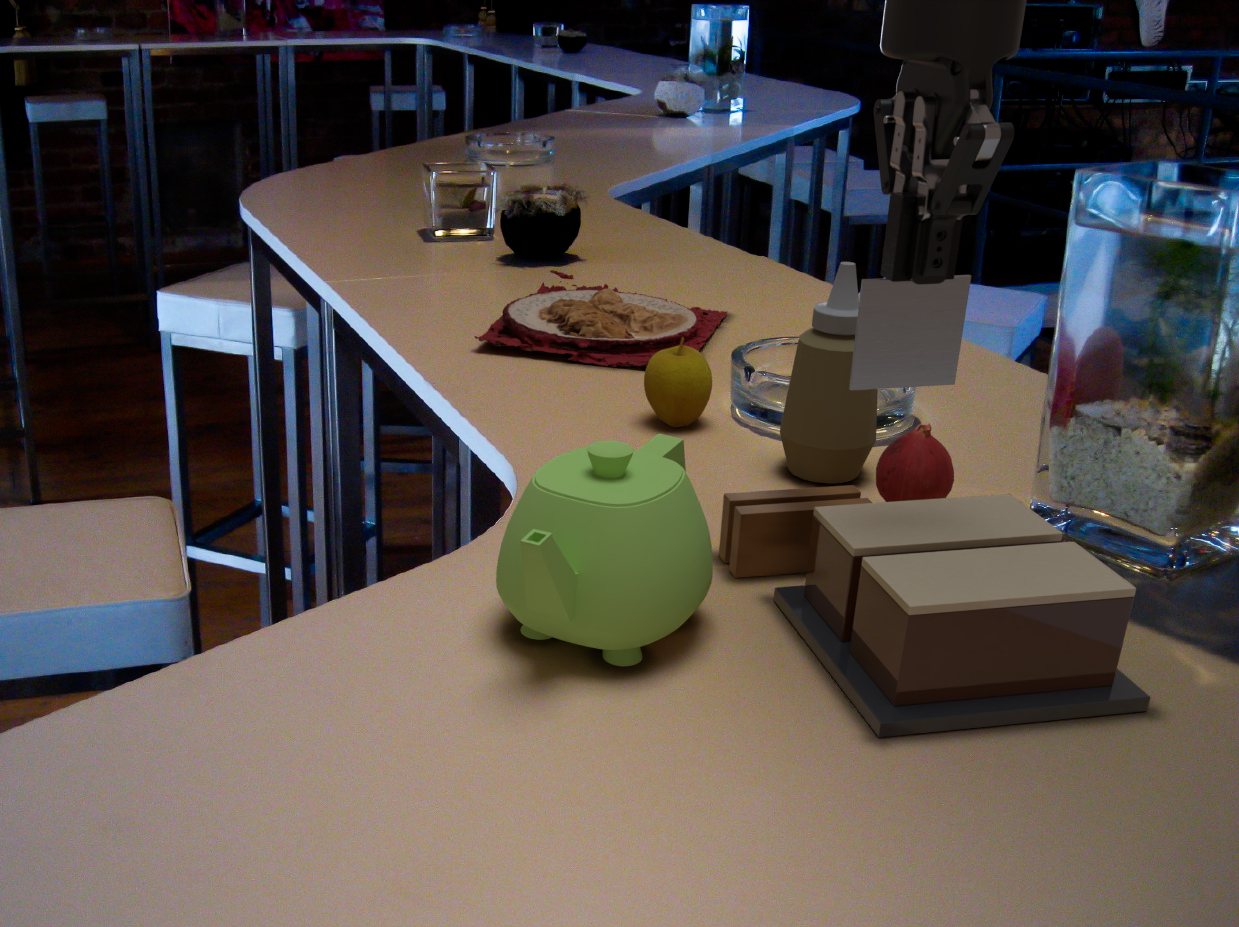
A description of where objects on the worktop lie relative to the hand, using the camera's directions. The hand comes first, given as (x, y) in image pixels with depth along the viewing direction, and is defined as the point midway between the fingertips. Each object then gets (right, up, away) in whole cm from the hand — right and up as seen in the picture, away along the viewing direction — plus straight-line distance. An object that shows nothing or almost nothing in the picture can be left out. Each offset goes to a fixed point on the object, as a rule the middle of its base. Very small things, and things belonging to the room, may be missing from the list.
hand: (917, 276), depth 77 cm
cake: (+3, -23, +4) cm, 24 cm away
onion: (+6, -15, +23) cm, 28 cm away
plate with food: (-14, +8, +70) cm, 72 cm away
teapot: (-19, -22, +7) cm, 30 cm away
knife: (0, -6, +3) cm, 7 cm away
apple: (-10, -5, +42) cm, 44 cm away
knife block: (-4, -18, +16) cm, 24 cm away
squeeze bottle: (+2, -11, +31) cm, 33 cm away
